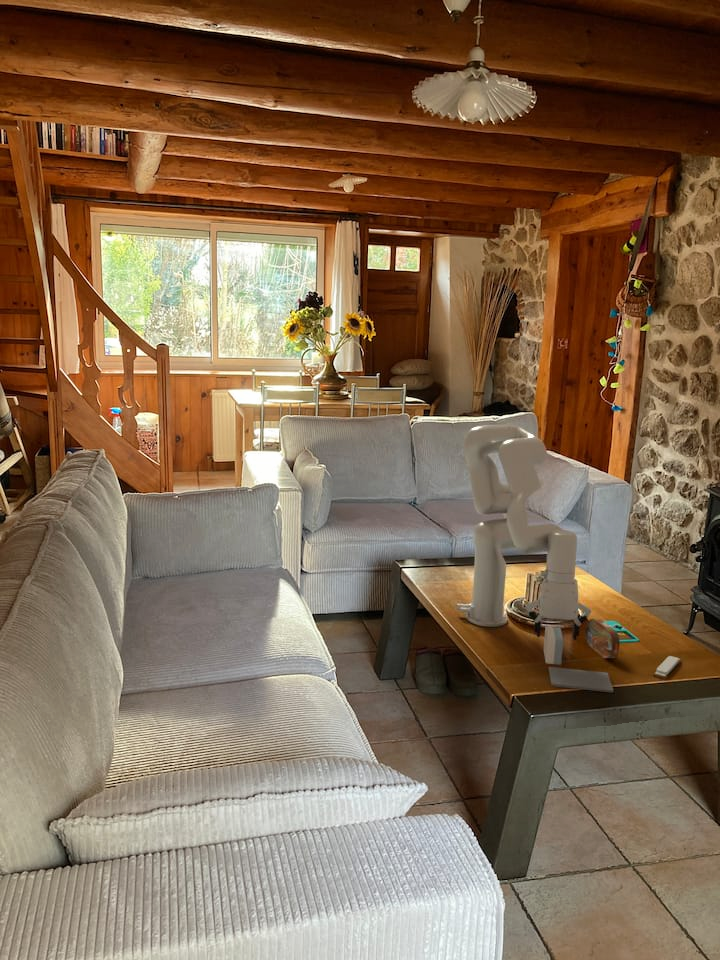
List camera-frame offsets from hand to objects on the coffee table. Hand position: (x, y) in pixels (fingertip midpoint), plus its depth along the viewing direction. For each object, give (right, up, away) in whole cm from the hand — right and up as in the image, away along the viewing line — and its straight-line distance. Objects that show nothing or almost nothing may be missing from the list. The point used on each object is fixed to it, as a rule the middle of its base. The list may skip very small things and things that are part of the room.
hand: (556, 636), depth 206 cm
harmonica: (+29, -9, -3) cm, 30 cm away
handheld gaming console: (+23, -4, +21) cm, 31 cm away
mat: (+3, -9, -12) cm, 15 cm away
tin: (+14, -6, +7) cm, 17 cm away
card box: (-1, -6, +2) cm, 6 cm away
